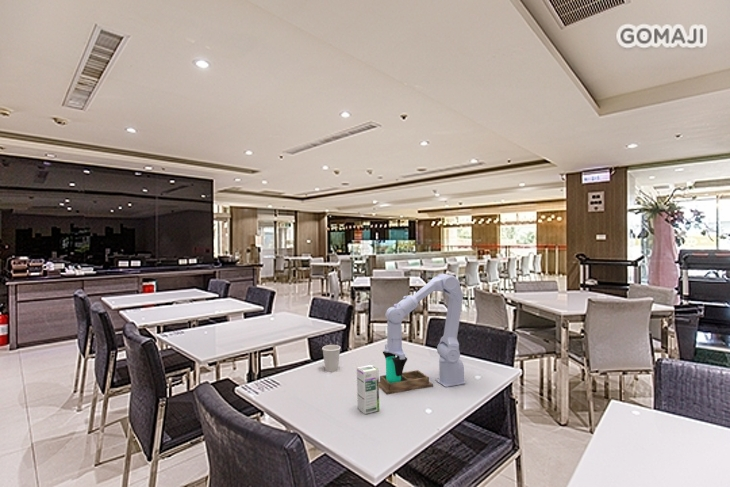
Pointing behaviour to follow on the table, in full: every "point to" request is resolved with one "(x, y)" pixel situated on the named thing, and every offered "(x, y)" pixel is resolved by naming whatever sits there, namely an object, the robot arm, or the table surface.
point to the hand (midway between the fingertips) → (394, 372)
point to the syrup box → (368, 389)
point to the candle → (391, 371)
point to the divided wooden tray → (405, 382)
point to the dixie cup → (331, 357)
